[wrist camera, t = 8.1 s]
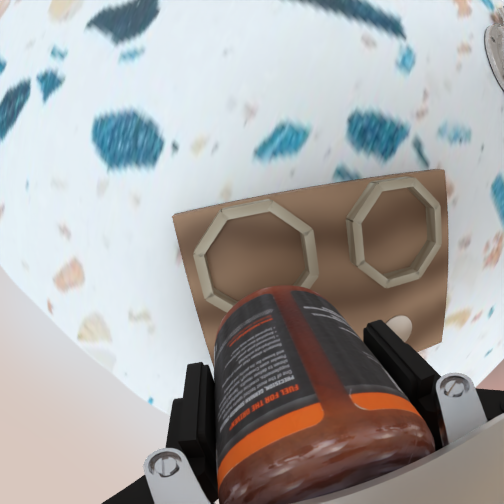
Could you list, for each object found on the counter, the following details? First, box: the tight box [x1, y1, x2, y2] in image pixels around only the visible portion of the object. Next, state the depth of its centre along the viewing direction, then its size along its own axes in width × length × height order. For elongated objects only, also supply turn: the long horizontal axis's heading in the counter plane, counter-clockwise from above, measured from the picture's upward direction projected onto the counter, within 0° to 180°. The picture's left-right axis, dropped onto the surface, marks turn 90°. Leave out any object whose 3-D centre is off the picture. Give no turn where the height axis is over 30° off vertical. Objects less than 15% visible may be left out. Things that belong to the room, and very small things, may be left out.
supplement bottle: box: [214, 285, 435, 504], centre depth 8 cm, size 6×6×11 cm
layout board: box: [172, 169, 448, 366], centre depth 26 cm, size 20×26×6 cm
